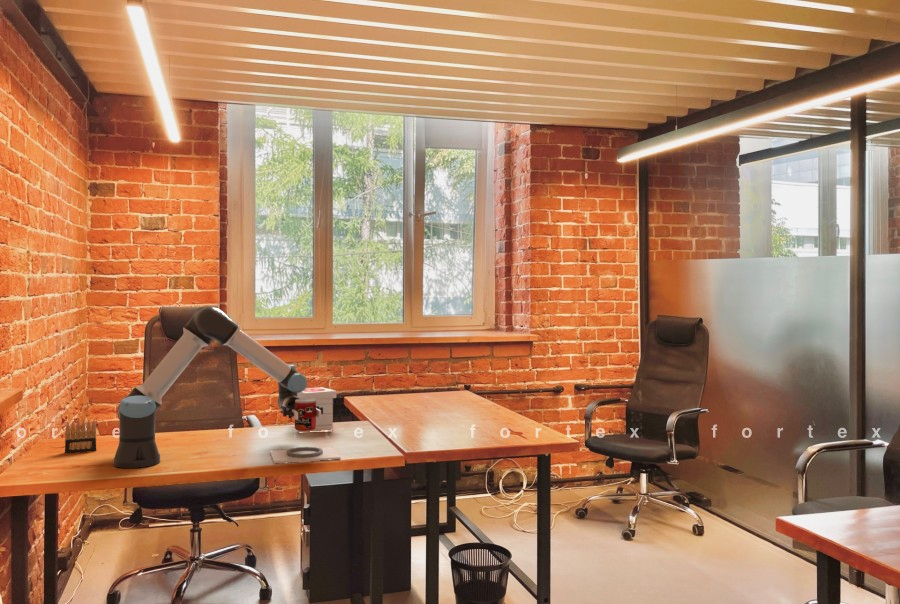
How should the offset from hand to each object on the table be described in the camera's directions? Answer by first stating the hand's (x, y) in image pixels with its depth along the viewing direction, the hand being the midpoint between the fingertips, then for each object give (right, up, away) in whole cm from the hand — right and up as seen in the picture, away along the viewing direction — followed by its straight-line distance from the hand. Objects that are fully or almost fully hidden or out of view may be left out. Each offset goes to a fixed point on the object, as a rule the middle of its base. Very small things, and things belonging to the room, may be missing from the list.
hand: (308, 415), depth 254 cm
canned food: (-2, -6, +4) cm, 8 cm away
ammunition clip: (-89, -16, +8) cm, 91 cm away
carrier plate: (-2, -16, +4) cm, 17 cm away
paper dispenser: (-11, -16, +63) cm, 66 cm away
